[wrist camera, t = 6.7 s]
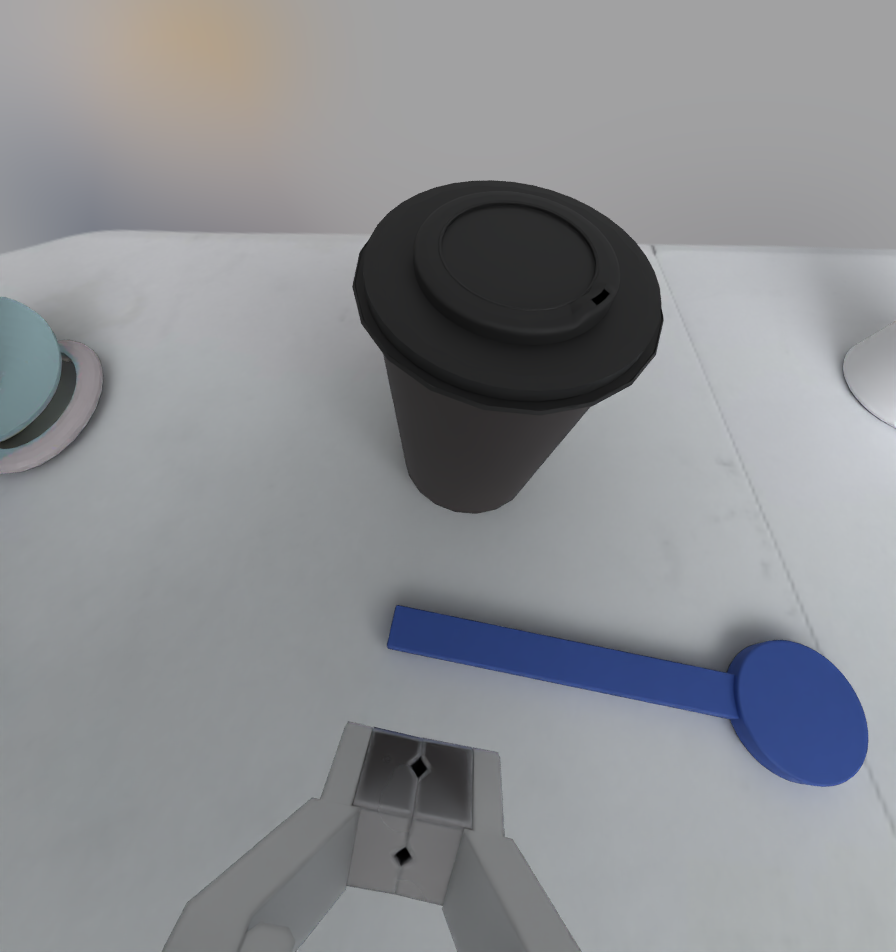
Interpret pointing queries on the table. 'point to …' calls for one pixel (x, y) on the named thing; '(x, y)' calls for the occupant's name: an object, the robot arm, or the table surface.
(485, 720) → the table surface
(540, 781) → the table surface
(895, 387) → the cosmetic bottle
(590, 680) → the spoon
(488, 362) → the coffee cup
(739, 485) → the table surface
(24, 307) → the pacifier
